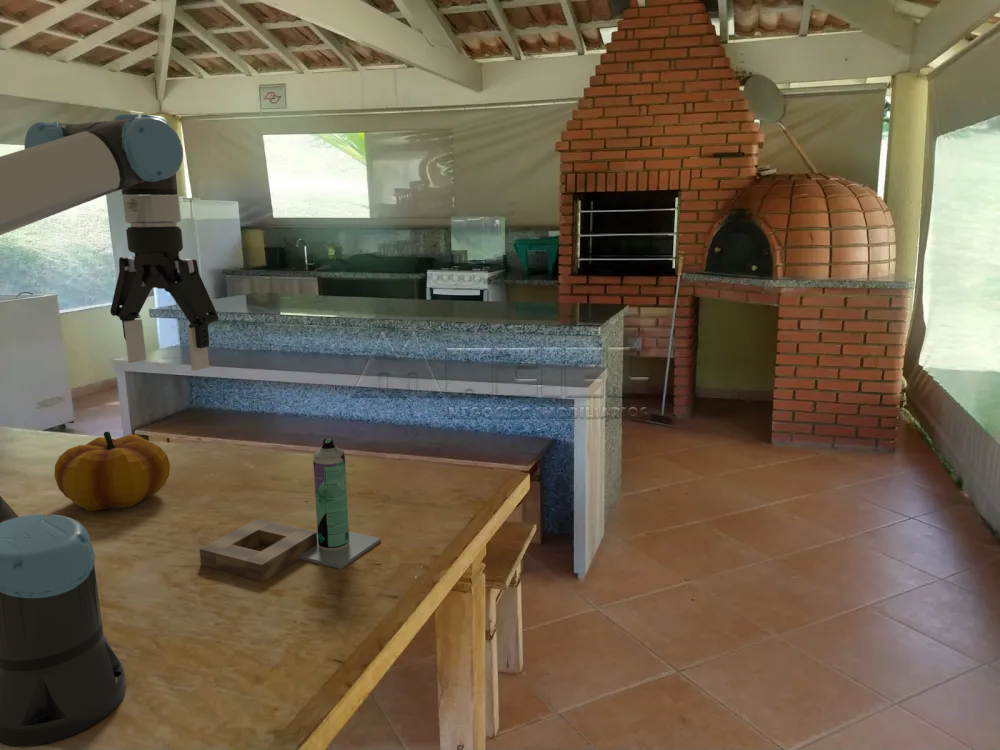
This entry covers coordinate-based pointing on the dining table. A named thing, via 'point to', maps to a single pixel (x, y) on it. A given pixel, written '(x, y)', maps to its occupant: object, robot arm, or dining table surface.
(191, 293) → the robot arm
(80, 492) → the decorative pumpkin
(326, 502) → the spray can
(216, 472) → the dining table surface
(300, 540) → the eye block
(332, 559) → the slate tile
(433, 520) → the dining table surface
